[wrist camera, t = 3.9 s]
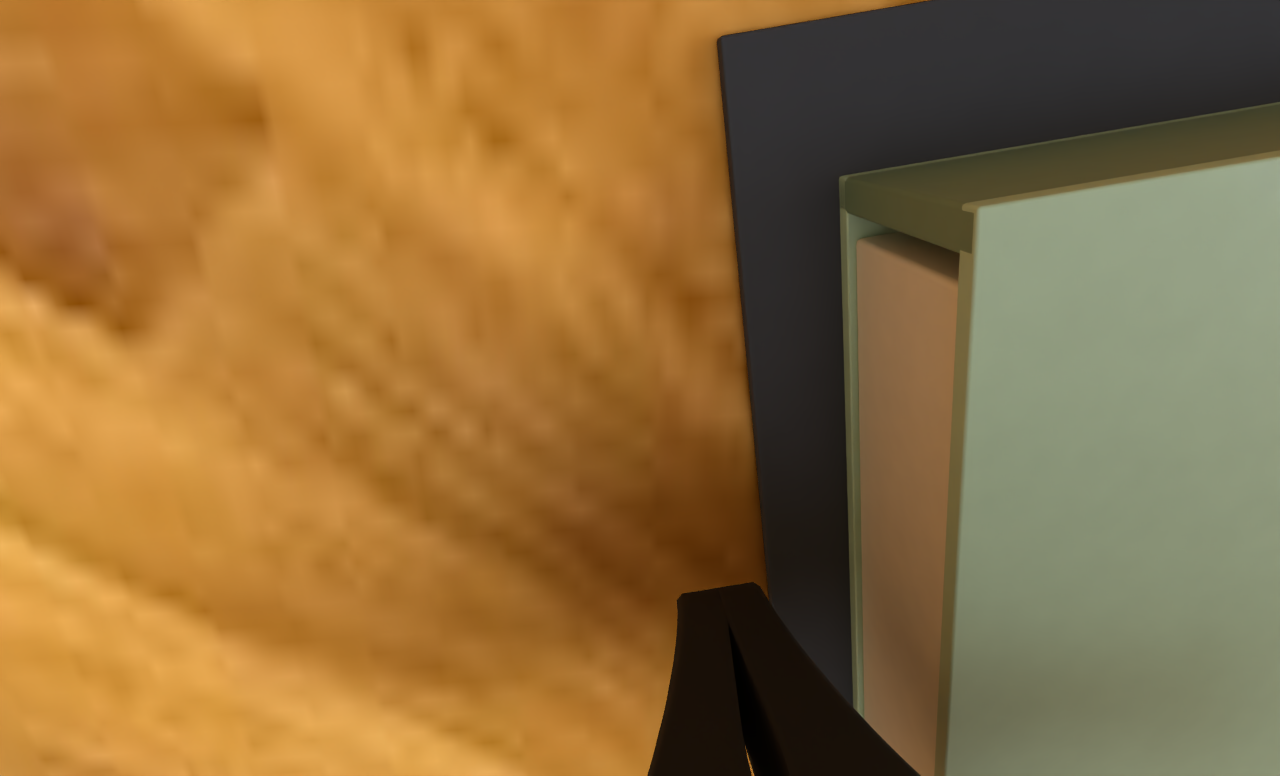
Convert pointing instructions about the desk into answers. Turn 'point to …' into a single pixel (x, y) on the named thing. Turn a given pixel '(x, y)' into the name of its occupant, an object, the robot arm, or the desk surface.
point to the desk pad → (901, 135)
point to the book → (1069, 452)
